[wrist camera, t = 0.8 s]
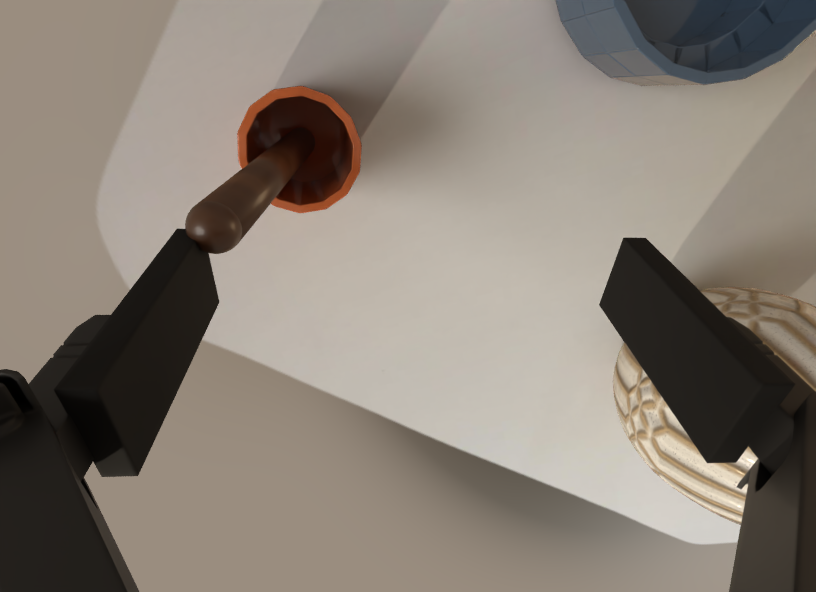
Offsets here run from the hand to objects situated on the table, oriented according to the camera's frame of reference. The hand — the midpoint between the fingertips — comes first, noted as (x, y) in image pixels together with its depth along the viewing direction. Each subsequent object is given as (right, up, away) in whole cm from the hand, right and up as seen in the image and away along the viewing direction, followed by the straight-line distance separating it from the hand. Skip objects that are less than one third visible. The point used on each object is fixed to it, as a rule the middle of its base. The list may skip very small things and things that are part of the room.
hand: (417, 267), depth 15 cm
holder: (-7, +9, +12) cm, 16 cm away
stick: (-6, +8, +12) cm, 16 cm away
